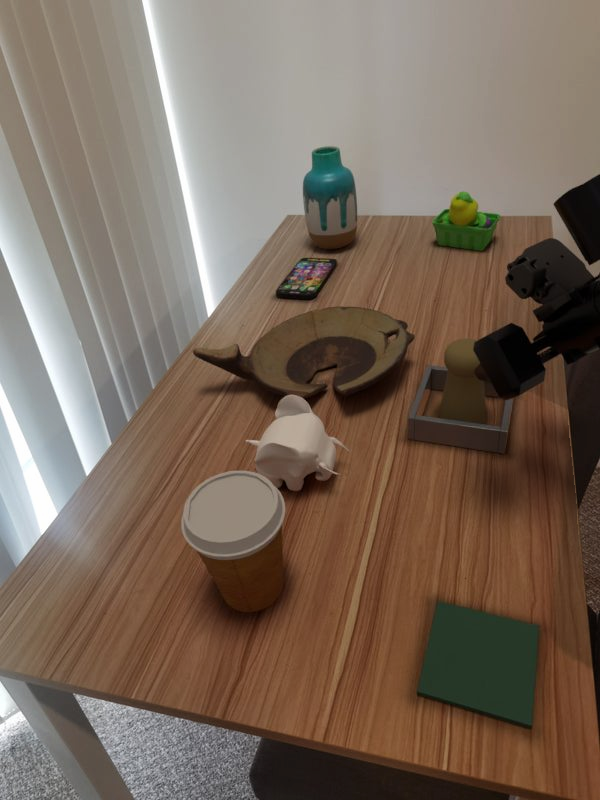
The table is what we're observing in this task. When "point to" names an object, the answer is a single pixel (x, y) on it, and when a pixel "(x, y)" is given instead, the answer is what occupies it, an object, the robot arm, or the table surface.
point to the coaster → (481, 663)
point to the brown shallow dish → (319, 351)
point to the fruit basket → (465, 224)
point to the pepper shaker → (463, 385)
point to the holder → (451, 429)
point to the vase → (330, 200)
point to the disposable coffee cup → (238, 536)
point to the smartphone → (306, 278)
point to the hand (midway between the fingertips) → (507, 358)
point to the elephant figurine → (295, 446)
